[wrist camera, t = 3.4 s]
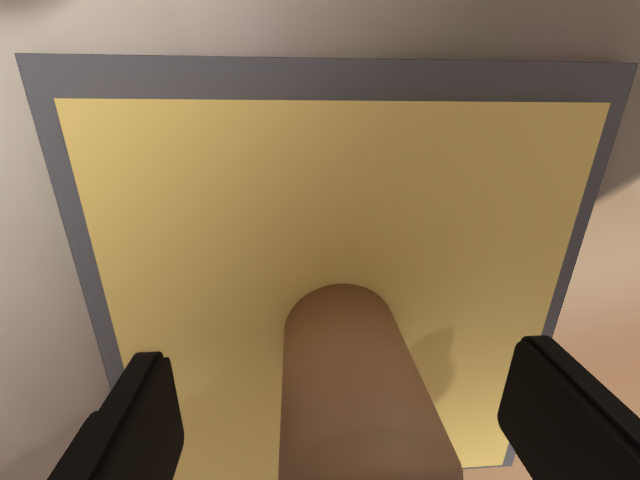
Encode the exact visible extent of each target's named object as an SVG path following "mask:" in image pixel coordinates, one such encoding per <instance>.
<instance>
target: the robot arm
mask: <svg viewBox="0 0 640 480" xmlns="http://www.w3.org/2000/svg"><path fill="white" fill-rule="evenodd" d="M497 420H498V424H499V426H500V428H501V430H502V432H503V433H504V435H505V437H506V438H507V440H508V441H509V443H510V444H511V446H512V448H513V449H514V451H515V452H516V454H517V455H518V457H519V459H520V460H521V462H522V463H523V465H524V466H525V468H526V470H527V471H528V473H529V474H530V476H531V477H532V479H533V480H640V418H639V417H638V416H637V415H636V414H634V413H633V412H632V411H631V410H630V409H629V408H628V407H627V406H626V405H625V404H623V403H622V402H621V401H620V400H619V399H618V398H617V397H616V396H615V395H614V394H612V393H611V392H610V391H609V390H608V389H607V388H606V387H605V386H604V385H603V384H602V383H600V382H599V381H598V380H597V379H596V378H595V377H594V376H593V375H592V374H591V373H590V372H588V371H587V370H586V369H585V368H584V367H583V366H582V365H581V364H580V363H579V362H577V361H576V360H575V359H574V358H573V357H572V356H571V355H570V354H569V353H567V352H566V351H565V350H564V349H563V348H562V347H561V346H560V345H559V344H558V343H557V342H555V341H554V340H553V339H552V338H551V337H549V336H547V335H535V336H524V337H523V338H522V339H521V341H520V342H518V343H517V344H516V346H515V349H514V353H513V357H512V360H511V364H510V368H509V372H508V375H507V379H506V383H505V387H504V390H503V394H502V398H501V402H500V406H499V409H498V413H497ZM183 445H184V429H183V423H182V418H181V413H180V408H179V402H178V397H177V392H176V387H175V382H174V376H173V371H172V366H171V361H170V358H169V357H163V354H162V352H160V351H157V352H137V353H135V354H134V355H133V357H132V358H131V360H130V362H129V363H128V365H127V366H126V368H125V369H124V371H123V373H122V374H121V376H120V377H119V379H118V381H117V382H116V384H115V385H114V387H113V389H112V390H111V392H110V393H109V395H108V397H107V398H106V400H105V401H104V403H103V405H102V406H101V408H100V409H99V411H95V412H93V413H92V414H90V416H89V417H88V418H87V419H86V421H85V422H84V424H83V425H82V427H81V428H80V430H79V431H78V433H77V434H76V436H75V437H74V439H73V441H72V442H71V444H70V445H69V447H68V448H67V450H66V451H65V453H64V454H63V456H62V457H61V459H60V461H59V462H58V464H57V465H56V467H55V468H54V470H53V471H52V473H51V474H50V476H49V477H48V479H47V480H173V477H174V474H175V471H176V468H177V465H178V462H179V458H180V455H181V452H182V449H183Z"/></svg>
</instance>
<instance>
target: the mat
mask: <svg viewBox="0 0 640 480" xmlns="http://www.w3.org/2000/svg"><path fill="white" fill-rule="evenodd" d="M15 57H16V60H17V64H18V67H19V71H20V74H21V78H22V81H23V85H24V88H25V92H26V95H27V99H28V102H29V106H30V109H31V113H32V116H33V120H34V123H35V127H36V130H37V134H38V137H39V141H40V144H41V148H42V151H43V155H44V158H45V162H46V165H47V169H48V172H49V175H50V179H51V182H52V186H53V189H54V193H55V196H56V200H57V203H58V207H59V210H60V214H61V217H62V221H63V224H64V228H65V231H66V235H67V238H68V242H69V245H70V249H71V252H72V256H73V259H74V263H75V266H76V270H77V273H78V277H79V280H80V284H81V287H82V291H83V294H84V298H85V301H86V305H87V308H88V312H89V315H90V319H91V322H92V326H93V329H94V332H95V336H96V339H97V343H98V346H99V350H100V353H101V357H102V360H103V364H104V367H105V371H106V374H107V378H108V381H109V385H110V388H111V390H112V389H113V387H114V385H115V384H116V382H117V381H118V379H119V377H120V376H121V374H122V373H123V371H124V366H123V362H122V358H121V355H120V351H119V347H118V343H117V339H116V335H115V332H114V328H113V324H112V320H111V316H110V312H109V308H108V305H107V301H106V297H105V293H104V289H103V285H102V282H101V278H100V274H99V270H98V266H97V262H96V258H95V255H94V251H93V247H92V243H91V239H90V235H89V232H88V228H87V224H86V220H85V216H84V212H83V208H82V205H81V201H80V197H79V193H78V189H77V185H76V182H75V178H74V174H73V170H72V166H71V162H70V159H69V155H68V151H67V147H66V143H65V139H64V135H63V132H62V128H61V124H60V120H59V116H58V112H57V109H56V105H55V101H54V98H72V99H200V100H328V101H456V102H584V103H610V107H609V110H608V113H607V117H606V120H605V123H604V127H603V130H602V133H601V137H600V140H599V143H598V147H597V150H596V153H595V157H594V160H593V163H592V167H591V170H590V173H589V177H588V180H587V183H586V187H585V190H584V193H583V197H582V200H581V203H580V207H579V210H578V214H577V217H576V220H575V224H574V227H573V230H572V234H571V237H570V240H569V244H568V247H567V250H566V254H565V257H564V260H563V264H562V267H561V270H560V274H559V277H558V280H557V284H556V287H555V290H554V294H553V297H552V300H551V304H550V307H549V310H548V314H547V317H546V320H545V324H544V327H543V330H542V334H541V335H547V336H549V337H551V338H552V336H553V333H554V330H555V327H556V324H557V320H558V317H559V314H560V311H561V308H562V305H563V301H564V298H565V295H566V292H567V288H568V285H569V282H570V279H571V276H572V272H573V269H574V266H575V263H576V260H577V257H578V254H579V250H580V247H581V244H582V241H583V238H584V235H585V231H586V228H587V225H588V222H589V219H590V216H591V212H592V209H593V206H594V203H595V200H596V197H597V193H598V190H599V187H600V184H601V181H602V177H603V174H604V171H605V168H606V165H607V162H608V158H609V155H610V152H611V149H612V146H613V143H614V139H615V136H616V133H617V130H618V127H619V124H620V120H621V117H622V114H623V111H624V108H625V104H626V101H627V98H628V95H629V92H630V89H631V85H632V82H633V79H634V76H635V73H636V70H637V66H638V63H599V62H537V61H475V60H413V59H351V58H289V57H227V56H165V55H103V54H41V53H15ZM515 454H516V452H515V451H514V449H513V448H512V446H511V444H510V443H509V444H508V447H507V451H506V454H505V457H504V461H503V464H502V465H497V466H482V467H467V468H462V469H473V468H486V467H487V468H488V467H501V466H502V467H503V466H512V463H513V460H514V457H515Z"/></svg>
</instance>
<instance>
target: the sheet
mask: <svg viewBox="0 0 640 480" xmlns="http://www.w3.org/2000/svg"><path fill="white" fill-rule="evenodd" d="M54 101H55V105H56V109H57V112H58V116H59V120H60V124H61V128H62V132H63V135H64V139H65V143H66V147H67V151H68V155H69V159H70V162H71V166H72V170H73V174H74V178H75V182H76V185H77V189H78V193H79V197H80V201H81V205H82V208H83V212H84V216H85V220H86V224H87V228H88V232H89V235H90V239H91V243H92V247H93V251H94V255H95V258H96V262H97V266H98V270H99V274H100V278H101V282H102V285H103V289H104V293H105V297H106V301H107V305H108V308H109V312H110V316H111V320H112V324H113V328H114V332H115V335H116V339H117V343H118V347H119V351H120V355H121V358H122V362H123V366H124V369H125V368H126V366H127V365H128V363H129V362H130V360H131V358H132V357H133V355H134V354H135V353H137V352H157V351H160V352H162V354H163V357H169V358H170V361H171V366H172V371H173V376H174V382H175V387H176V392H177V397H178V402H179V408H180V413H181V418H182V423H183V429H184V445H183V449H182V452H181V455H180V458H179V462H178V465H177V468H176V471H175V474H174V477H173V480H463V470H462V468H467V467H482V466H497V465H502V464H503V461H504V457H505V454H506V451H507V447H508V444H509V441H508V440H507V438H506V437H505V435H504V433H503V432H502V430H501V428H500V426H499V424H498V420H497V413H498V409H499V406H500V402H501V398H502V394H503V390H504V387H505V383H506V379H507V375H508V372H509V368H510V364H511V360H512V357H513V353H514V349H515V346H516V344H517V343H518V342H520V341H521V339H522V338H523V337H524V336H535V335H541V334H542V330H543V327H544V324H545V320H546V317H547V314H548V310H549V307H550V304H551V300H552V297H553V294H554V290H555V287H556V284H557V280H558V277H559V274H560V270H561V267H562V264H563V260H564V257H565V254H566V250H567V247H568V244H569V240H570V237H571V234H572V230H573V227H574V224H575V220H576V217H577V214H578V210H579V207H580V203H581V200H582V197H583V193H584V190H585V187H586V183H587V180H588V177H589V173H590V170H591V167H592V163H593V160H594V157H595V153H596V150H597V147H598V143H599V140H600V137H601V133H602V130H603V127H604V123H605V120H606V117H607V113H608V110H609V107H610V103H584V102H456V101H328V100H200V99H72V98H54Z"/></svg>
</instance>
